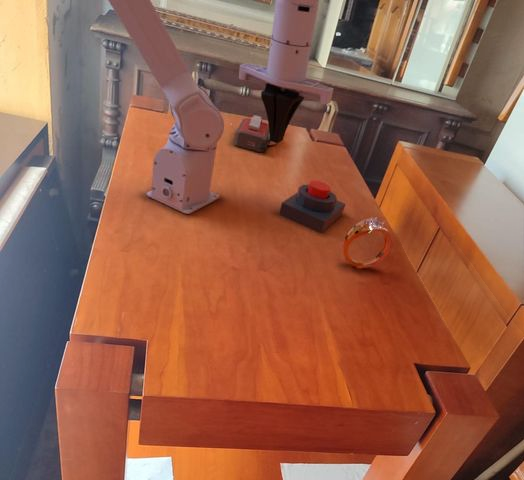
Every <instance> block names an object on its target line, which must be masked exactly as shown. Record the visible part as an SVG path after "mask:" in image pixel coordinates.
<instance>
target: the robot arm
mask: <svg viewBox="0 0 524 480" xmlns="http://www.w3.org/2000/svg"><path fill="white" fill-rule="evenodd" d="M107 2H108V3H109V4H110V6H111V7H112V9H113V11H114V12H115V14H116V16H117V17H118V19H119V21H120V23H121V24H122V27H124V29H125V31H126V33H127V34H128V35H129V37H130V40H131V41H132V43H134V45H135V48H137V50H138V52H139V55H140V56H141V57H142V59H143V61H144V62H145V64H146V65H147V67H148V68H149V70H150V71H151V74H152V75H153V77H154V79H155V80H156V82H157V83H158V85H159V87H160V89H161V90H162V92H163V93H164V95H165V97H166V99H167V101H168V102H169V108H170V109H169V110H170V114H171V116H172V118H173V120H174V121H175V122H174V124H173V126H172V127H171V129H170V130H169V134H168V139H167V141H166V144H165V145H164V146H163V147H162V148H161V149H159V150H158V151H157V152H156V154H155V155H154V158H153V167H152V179H151V190H149V191H147V192H146V197H148V198H150V199H153V200H155V201H157V202H159V203H161V204H163V205H166V206H168V207H170V208H172V209H174V210H176V211H178V212H181V213H183V214H185V215H191V214H192V213H194V212H196V211H198V210H200V209H202V208H203V207H205V206H207V205H209V204H211V203H213V202H215V201H217V200H219V199H220V195H219V194H218V193H215V192H213V191H211V186H212V180H213V174H214V173H213V172H214V167H215V160H216V153H217V148H218V147H217V146H218V143H219V142H220V140H221V138H222V136H223V134H224V130H225V120H224V118H223V115H222V113H221V112H220V109H218V107H216V106H215V104H214V103H213V101H212V100H211V97H210V95H209V93H208V92H207V90H206V89H204V88H203V87H202V86H201V85H199V84H197V83H196V80H195V78H194V77H193V75H192V73H191V71H190V70H189V68H188V67H187V65H186V63H185V61H184V59H183V57H182V55H181V54H180V52H179V50H178V49H177V46H176V44H175V43H174V41H173V39H172V37H171V35H170V33H169V32H168V30H167V28H166V26H165V24H164V23H163V21H162V18H161V17H160V14H159V13H158V11H157V9H156V8H155V6H154V5H153V3H152V1H151V0H107ZM319 3H320V0H275V6H274V13H273V21H272V29H271V36H270V43H269V53H268V60H267V66H260V65H255V64H252V63H247V62H246V63H242V64H240V65H239V73H238V80H241V81H244V82H245V81H249V82H252V83H256V84H259V85H263V86H264V90H261V92H260V98H261V100H262V103H263V106H264V109H265V114H266V117H267V124H269V134H270V141H272V142H275V143H276V144H279V143H280V142H282V141H283V140H284V138H285V134H286V132H287V129H288V127H289V124H290V123H291V121H292V118H293V116H294V115H295V113H296V112H297V110H298V108H300V106H301V104H302V103H303V101H304V99H305V98H306V99H309V100H312V101H316V102H318V103H319V104H321V105H323V106H325V105H329V104H330V103H331V102H332V98H333V93H334V89H335V88H334V87H332V86H328V85H325V84H323V83H320V82H318V81H315V80H313V79H311V78H308V77H307V73H308V72H307V71H308V66H309V60H310V56H311V49H312V43H313V39H314V32H315V26H316V22H317V16H318V15H317V14H318V9H319Z"/></svg>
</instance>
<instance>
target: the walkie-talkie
mask: <svg viewBox="0 0 524 480" xmlns="http://www.w3.org/2000/svg"><path fill="white" fill-rule="evenodd" d="M263 119H264V117H263V116H260V115H256V114H252V117H251V118H249V117H246V118H243V119H241V122H240V123H239V126H238V128H237V130H236V131H235V136H234V142H233V144H234V145H235V146H236V147H237V148H242V149H245V150H248V151H252V152H255V153H256V152H257V153H264V151H266V150H267V147H268V146H272V145H273V146H275V145H276V144H277V143H275V142H272V141H270V134H269V124H268V122H265V121H263Z"/></svg>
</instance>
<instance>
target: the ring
mask: <svg viewBox="0 0 524 480" xmlns="http://www.w3.org/2000/svg"><path fill="white" fill-rule="evenodd" d="M386 223H387V222H386V221H385V220H383V221H380V220H379V221H378V217H377V216H375V217H373V216H370V218H366V219H365V218H364V219H363V220H361V221H359V222H357V223H356V224H354V225H353V227H351V228H350V230H349V231H348V232H347V234H346V236H345V237H344V239H343V241H342V253H343V256H344V259H345V261H346V262H347V263H348V264H349V265H350V266H353V267H355V268H356V269H359V270H361V269H366V268H371V267H373V266H377V265H378V264H379V263H381V262H382V261H383V260H384V259H385V258H386V257H387V255H388V253H389V252H390V249H391V246H392V236H391V233H390V232H389V230H388V229H387V228H385V227H384V226H385V225H386ZM371 232H379V233H380V234H381V236H382V238H383V245H382V247H381V250H380V252H379V253H378V254H377V255H376V256H375V257H374V258H372V259H369V260H367V261H362V259H357V260H355V259H353V258H352V257H351V256H350V255H349V248H350V246H351V244H352V242H354V241H355V240H357V238H359V237H361V236H364V235H367V234H370V233H371Z"/></svg>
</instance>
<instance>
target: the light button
mask: <svg viewBox="0 0 524 480" xmlns="http://www.w3.org/2000/svg"><path fill="white" fill-rule="evenodd" d="M308 185H309V187H308V191H307V193H308V194H309V195H311V196H313V197H315V198H319V199H327V198H328V195H329V192H330V191H331V186H330V185H329V184H327V183H326V182H322V181H319V180H311V181H309V184H308Z"/></svg>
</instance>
